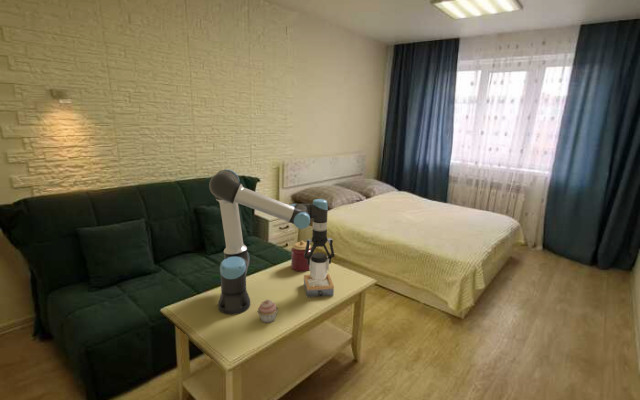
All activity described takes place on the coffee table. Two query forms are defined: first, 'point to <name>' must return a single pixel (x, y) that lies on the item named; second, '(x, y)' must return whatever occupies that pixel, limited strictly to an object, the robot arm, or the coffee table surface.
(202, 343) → the coffee table surface
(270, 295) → the coffee table surface
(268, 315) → the cupcake
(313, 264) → the jar
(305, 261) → the canister
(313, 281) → the small square box
